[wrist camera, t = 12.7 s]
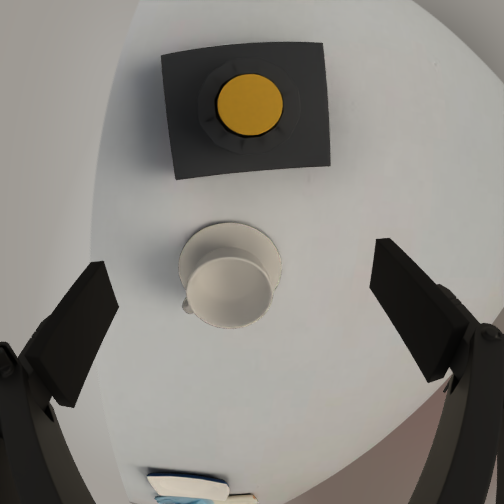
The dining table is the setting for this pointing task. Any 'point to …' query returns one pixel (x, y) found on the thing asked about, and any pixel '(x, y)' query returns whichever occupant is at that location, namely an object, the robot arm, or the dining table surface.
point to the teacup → (229, 275)
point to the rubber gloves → (207, 500)
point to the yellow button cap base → (228, 141)
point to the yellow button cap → (250, 104)
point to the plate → (189, 486)
